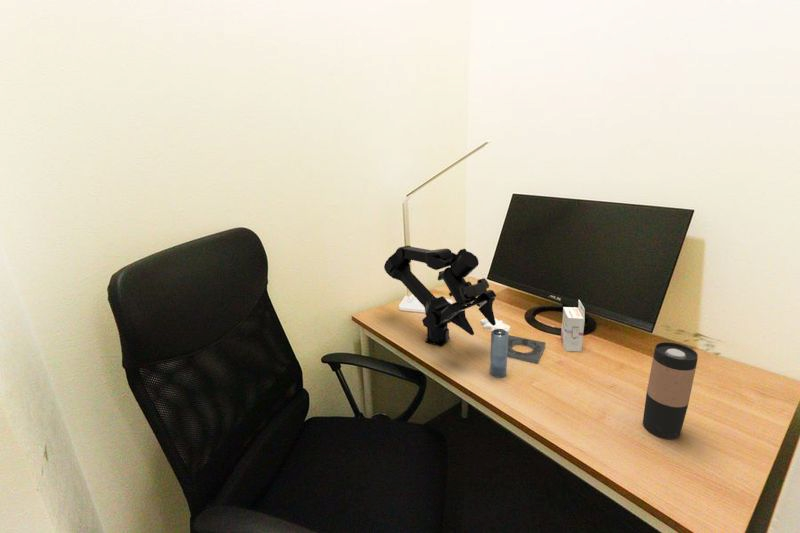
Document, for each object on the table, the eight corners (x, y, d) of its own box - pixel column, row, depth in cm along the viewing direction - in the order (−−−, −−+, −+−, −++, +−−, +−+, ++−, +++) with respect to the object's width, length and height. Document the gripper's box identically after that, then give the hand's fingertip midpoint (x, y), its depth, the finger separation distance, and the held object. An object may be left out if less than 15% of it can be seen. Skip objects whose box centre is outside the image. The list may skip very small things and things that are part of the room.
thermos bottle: (487, 375, 109) (489, 333, 105) (492, 367, 112) (494, 326, 108) (503, 379, 106) (505, 336, 102) (508, 371, 110) (510, 329, 106)
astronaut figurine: (496, 319, 144) (496, 311, 143) (515, 332, 133) (515, 324, 132) (475, 323, 142) (476, 316, 141) (493, 337, 131) (493, 329, 130)
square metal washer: (498, 354, 119) (498, 351, 119) (508, 338, 129) (508, 335, 129) (537, 363, 113) (537, 360, 113) (545, 345, 123) (545, 342, 123)
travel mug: (633, 418, 89) (646, 343, 83) (664, 415, 90) (679, 340, 84) (657, 442, 82) (673, 361, 76) (690, 438, 83) (708, 358, 77)
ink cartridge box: (559, 338, 127) (563, 297, 123) (575, 339, 126) (579, 298, 122) (565, 351, 119) (569, 308, 115) (581, 352, 118) (586, 309, 114)
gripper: (447, 278, 104) (477, 328, 99) (492, 264, 115) (521, 308, 109) (429, 297, 113) (455, 344, 107) (472, 282, 123) (498, 324, 118)
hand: (484, 329), depth 110 cm, fingers open, 9 cm apart
